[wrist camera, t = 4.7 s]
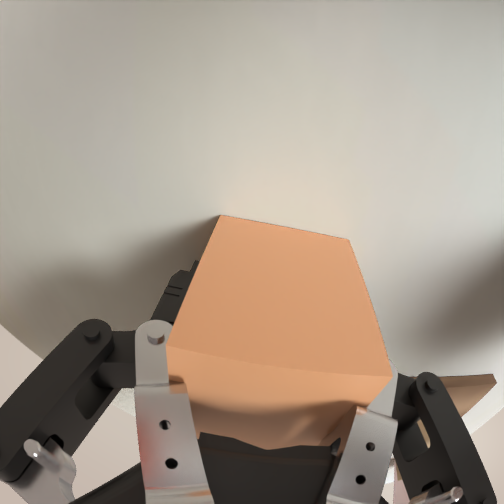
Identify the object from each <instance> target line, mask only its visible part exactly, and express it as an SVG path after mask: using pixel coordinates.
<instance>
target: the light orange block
mask: <svg viewBox="0 0 504 504" xmlns="http://www.w3.org/2000/svg"><path fill="white" fill-rule="evenodd" d="M166 356H167V367H168V378H169V380H172V381H177V382H185V383H186V387H187V391H188V397H189V402H190V407H191V412H192V417H193V422H194V427H195V432H196V437H197V439H199V436H200V432H204V433H209V434H215V435H220V436H226V437H232V438H235V439H238V440H240V441H243V442H246V443H248V444H251V445H254V446H257V447H260V448H262V449H266V450H271V449H279V448H285V447H292V446H298V445H310V446H318V445H319V443H320V442H321V440H322V439H323V438H324V437H325V436H326V435H327V434H330V433H331V432H332V431H333V430H334V429H335V428H336V426H337V425H338V424H339V423H340V422H341V421H342V419H343V418H344V416H345V414H346V413H347V412H348V411H349V410H350V409H351V407H352V406H353V405H358V406H369V405H370V403H371V402H372V401H373V400H374V399H375V398H376V397H377V395H378V394H379V393H380V392H381V391H382V390H383V388H384V387H385V386H386V385H387V384H388V382H389V381H390V380H391V379H392V378H393V374H392V370H391V367H390V363H389V359H388V356H387V352H386V348H385V345H384V342H383V338H382V335H381V331H380V328H379V325H378V322H377V318H376V315H375V312H374V309H373V306H372V303H371V300H370V297H369V294H368V291H367V288H366V285H365V282H364V279H363V277H362V274H361V271H360V268H359V265H358V263H357V260H356V257H355V255H354V252H353V249H352V247H351V244H350V241H349V240H347V239H342V238H337V237H333V236H328V235H323V234H318V233H313V232H308V231H303V230H298V229H293V228H288V227H283V226H277V225H272V224H267V223H262V222H256V221H251V220H245V219H240V218H234V217H229V216H223V215H220V217H219V219H218V222H217V224H216V226H215V228H214V230H213V233H212V235H211V237H210V239H209V242H208V244H207V246H206V249H205V251H204V253H203V256H202V258H201V260H200V262H199V265H198V267H197V269H196V272H195V274H194V277H193V279H192V281H191V284H190V286H189V288H188V291H187V293H186V296H185V298H184V301H183V303H182V305H181V308H180V310H179V313H178V315H177V318H176V320H175V323H174V325H173V328H172V330H171V333H170V335H169V338H168V340H167V343H166Z"/></svg>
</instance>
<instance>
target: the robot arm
mask: <svg viewBox="0 0 504 504" xmlns="http://www.w3.org/2000/svg"><path fill="white" fill-rule="evenodd" d="M199 262H200V261H195V262H194V264H193V267H192V269H191V271H190V272H188V271H183V270H180V271H179V272H177V273H176V274H175V275H173V276H172V277H171V279H170V281H169V283H168V286H167V287H166V289H165V291H164V294H163V295H162V297H161V299H160V301H159V303H158V305H157V307H156V309H155V311H154V313H153V315H152V317H151V319H150V321H147V322H144V323H143V324H141V325H140V326H139V327H138V328H137V330H134V331H112V330H111V328H110V326H109V325H108V324H107V323H106V322H104V321H102V320H99V319H90V320H86V321H84V322H82V323H80V324H79V325H78V326H77V327H76V328H75V329H74V330H73V331H72V332H71V333H70V334H69V335H68V336H67V337H66V338H65V339H64V340H63V341H62V342H61V343H60V344H59V345H58V346H57V347H56V348H55V349H54V350H53V351H52V352H51V353H50V354H49V355H48V356H47V357H46V358H45V359H44V360H43V361H42V362H41V363H40V364H39V365H38V367H37V368H36V369H35V370H34V371H33V372H32V373H31V374H30V375H29V376H28V377H27V379H25V381H24V382H23V383H22V384H21V385H20V386H19V387H18V388H17V389H16V390H15V392H14V393H13V394H12V395H11V396H10V397H9V398H8V399H7V401H6V402H5V403H4V404H3V405H2V407H1V408H0V480H1V481H3V482H4V483H6V484H8V485H10V487H12V489H13V490H14V491H15V492H17V493H18V494H19V495H20V496H21V497H22V498H23V499H24V500H25V501H26V502H27V503H28V504H388V502H387V501H386V500H385V499H384V498H383V497H382V496H381V494H382V490H383V487H384V483H385V480H386V476H387V472H388V468H389V464H390V460H391V456H392V453H393V455H394V458H395V461H396V464H397V466H398V469H399V472H400V474H401V477H402V480H403V483H404V486H405V489H406V491H407V494H408V497H409V500H410V502H409V504H497V500H496V496H495V493H494V491H493V488H492V486H491V483H490V480H489V478H488V475H487V473H486V470H485V468H484V466H483V463H482V461H481V459H480V456H479V454H478V452H477V450H476V447H475V445H474V443H473V441H472V439H471V437H470V435H469V432H468V430H467V428H466V426H465V424H464V422H463V420H462V418H461V416H460V414H459V412H458V410H457V408H456V406H455V405H454V403H453V401H452V399H451V397H450V395H449V393H448V391H447V390H446V388H445V386H444V384H443V382H442V381H441V380H440V378H439V377H438V376H436V375H435V374H433V373H430V372H423V373H421V374H419V375H418V377H417V378H416V379H414V378H411V377H408V376H405V375H402V374H399V373H398V371H397V368H396V366H395V364H394V363H393V362H392V361H391V360H390V359H389V363H390V367H391V370H392V374H393V378H392V379H391V380H390V381H389V382H388V384H387V385H386V386H385V387H384V388H383V390H382V391H381V392H380V393H379V394H378V395H377V397H376V398H375V399H374V400H373V401H372V402H371V403H370V405H369V406H358V405H353V406H352V407H351V409H350V410H349V411H348V412H347V413H346V414H345V416H344V418H343V419H342V421H341V422H340V423H339V424H338V425H337V426H336V428H335V429H334V430H333V431H332V432H331V433H330V434H327V435H326V436H325V437H324V438H323V439H322V440H321V442H320V443H319V445H318V446H310V445H298V446H292V447H285V448H279V449H271V450H266V449H262V448H260V447H257V446H254V445H251V444H248V443H246V442H243V441H240V440H238V439H235V438H232V437H226V436H220V435H215V434H209V433H204V432H200V436H199V439H197V437H196V432H195V427H194V422H193V417H192V412H191V407H190V402H189V397H188V391H187V387H186V383H185V382H177V381H172V380H169V378H168V367H167V356H166V343H167V340H168V338H169V335H170V333H171V330H172V328H173V325H174V323H175V320H176V318H177V315H178V313H179V310H180V308H181V305H182V303H183V301H184V298H185V296H186V293H187V291H188V288H189V286H190V284H191V281H192V279H193V277H194V274H195V272H196V269H197V267H198V265H199ZM121 388H134V396H135V411H136V424H137V434H138V444H139V452H140V460H141V462H140V463H138V464H137V465H135V466H133V467H132V468H130V469H128V470H127V471H125V472H124V473H122V474H120V475H119V476H117V477H115V478H114V479H112V480H110V481H108V482H107V483H105V484H103V485H102V486H100V487H98V488H96V489H94V490H93V491H91V492H89V493H87V494H85V495H83V496H81V497H79V498H78V499H75V498H74V496H73V492H72V483H73V481H74V478H75V476H76V465H75V463H74V460H73V459H72V457H71V456H72V455H73V454H74V452H75V451H76V449H77V448H78V447H79V445H80V444H81V443H82V441H83V440H84V438H85V437H86V436H87V434H88V433H89V431H90V430H91V429H92V427H93V426H94V425H95V423H96V422H97V421H98V419H99V418H100V416H101V415H102V414H103V413H104V411H105V410H106V408H107V407H108V406H109V404H110V403H111V402H112V400H113V399H114V398H115V396H116V395H117V394H118V392H119V391H120V390H121ZM420 419H421V421H422V423H423V425H424V427H425V430H426V432H427V434H428V436H429V439H430V447H429V448H428V446H427V444H426V442H425V439H424V437H423V435H422V432H421V430H420V428H419V426H418V423H417V422H418V421H419V420H420Z"/></svg>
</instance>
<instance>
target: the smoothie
mask: <svg viewBox="0 0 504 504" xmlns="http://www.w3.org/2000/svg"><path fill="white" fill-rule="evenodd" d="M409 502H410V500H409V497H408V494H407V491H406V489H405V486H404V483H403V480H400V481H398V479H397V471H396V464H395V460H394V498H393V504H409Z"/></svg>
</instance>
